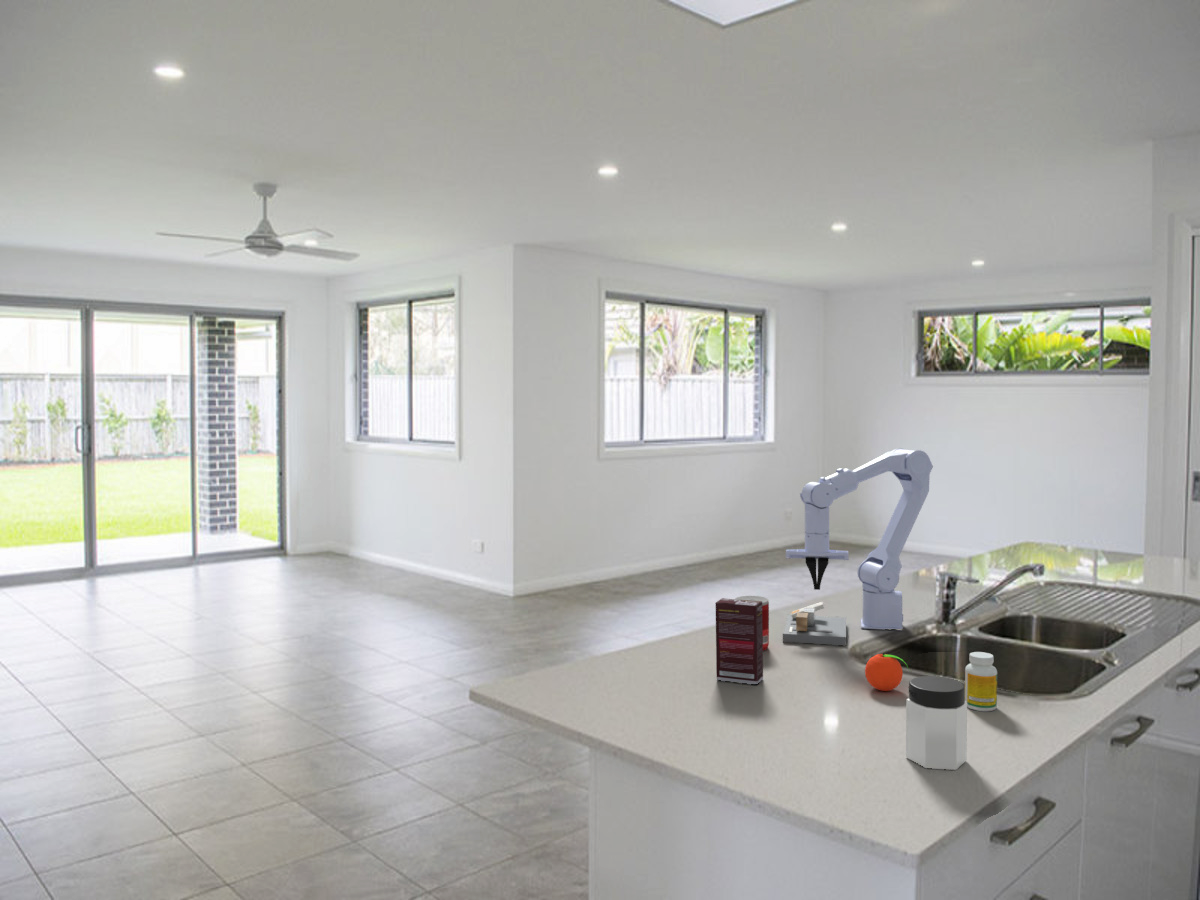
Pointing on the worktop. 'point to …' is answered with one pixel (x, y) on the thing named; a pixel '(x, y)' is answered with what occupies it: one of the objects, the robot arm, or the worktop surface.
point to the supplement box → (739, 641)
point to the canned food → (764, 616)
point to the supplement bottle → (981, 682)
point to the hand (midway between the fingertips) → (817, 588)
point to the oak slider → (801, 621)
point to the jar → (936, 722)
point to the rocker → (816, 606)
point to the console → (817, 631)
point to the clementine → (884, 672)
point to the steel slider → (810, 615)
